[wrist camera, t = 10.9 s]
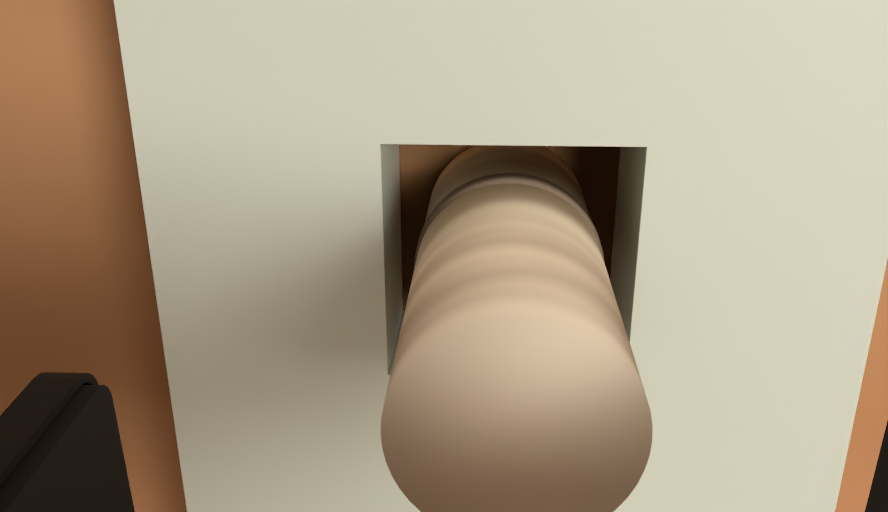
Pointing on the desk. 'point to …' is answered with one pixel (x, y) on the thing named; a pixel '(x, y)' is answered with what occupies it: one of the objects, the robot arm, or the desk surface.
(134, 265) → the desk surface
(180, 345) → the board
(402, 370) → the peg
